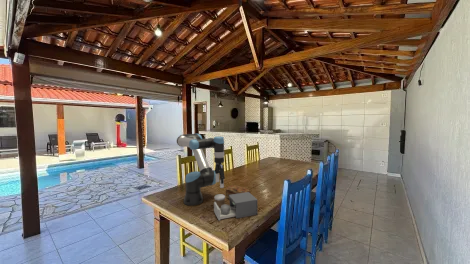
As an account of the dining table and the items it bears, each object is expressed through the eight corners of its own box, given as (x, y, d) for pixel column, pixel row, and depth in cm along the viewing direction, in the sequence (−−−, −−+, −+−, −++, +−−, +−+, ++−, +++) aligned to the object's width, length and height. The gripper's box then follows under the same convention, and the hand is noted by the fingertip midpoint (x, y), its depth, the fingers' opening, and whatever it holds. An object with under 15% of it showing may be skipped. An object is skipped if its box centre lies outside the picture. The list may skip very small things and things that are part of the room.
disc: (213, 197, 148) (213, 195, 148) (223, 195, 151) (223, 193, 151) (215, 201, 141) (215, 199, 141) (226, 199, 143) (226, 197, 143)
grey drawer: (214, 211, 136) (213, 201, 136) (234, 208, 141) (234, 198, 141) (218, 220, 124) (218, 209, 124) (240, 216, 130) (240, 205, 129)
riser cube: (215, 204, 148) (215, 197, 148) (222, 203, 150) (222, 196, 150) (217, 208, 142) (216, 200, 142) (224, 206, 144) (224, 199, 144)
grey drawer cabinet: (228, 208, 141) (228, 194, 140) (248, 205, 147) (248, 191, 146) (235, 218, 127) (235, 203, 126) (257, 214, 133) (257, 199, 132)
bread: (225, 198, 160) (225, 186, 160) (232, 194, 169) (232, 183, 169) (244, 203, 150) (244, 191, 149) (250, 198, 159) (250, 187, 158)
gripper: (210, 154, 154) (211, 180, 155) (218, 160, 130) (218, 191, 132) (219, 153, 156) (220, 179, 158) (228, 160, 133) (229, 189, 134)
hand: (219, 184), depth 145 cm, fingers open, 13 cm apart
